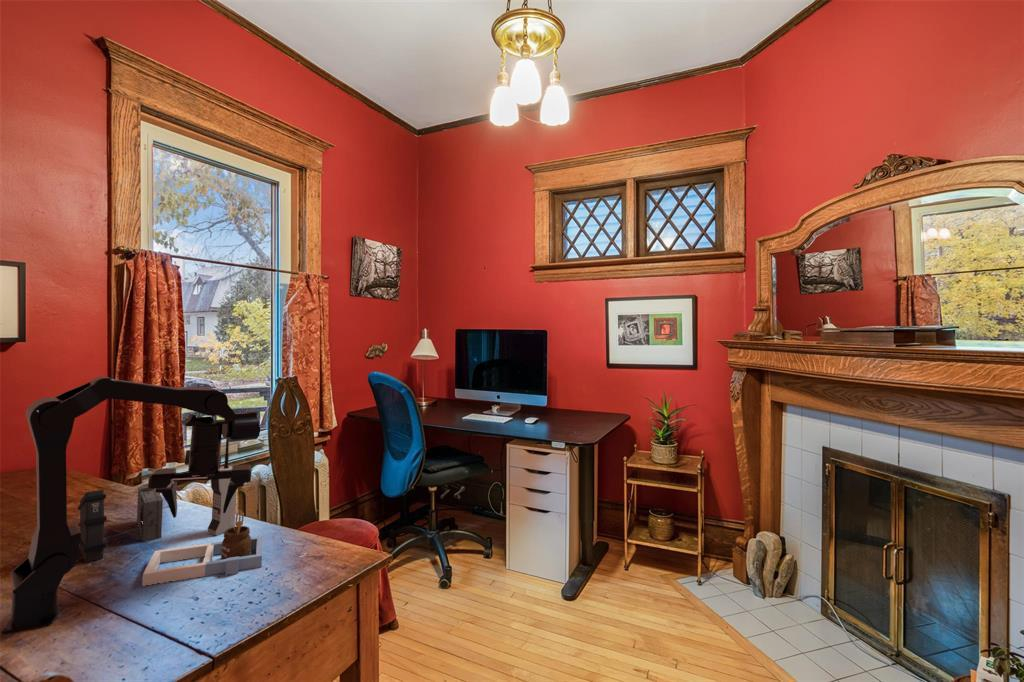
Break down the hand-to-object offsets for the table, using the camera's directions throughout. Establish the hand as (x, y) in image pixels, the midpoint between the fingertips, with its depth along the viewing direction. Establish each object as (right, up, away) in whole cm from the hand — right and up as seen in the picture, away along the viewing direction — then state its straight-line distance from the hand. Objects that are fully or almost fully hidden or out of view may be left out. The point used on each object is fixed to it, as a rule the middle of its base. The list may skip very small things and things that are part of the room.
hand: (200, 514), depth 102 cm
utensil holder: (+5, -13, +5) cm, 15 cm away
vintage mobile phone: (-8, -12, +20) cm, 25 cm away
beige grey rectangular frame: (0, -12, +3) cm, 13 cm away
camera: (-27, -11, +19) cm, 35 cm away
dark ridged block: (-30, -11, +6) cm, 33 cm away
